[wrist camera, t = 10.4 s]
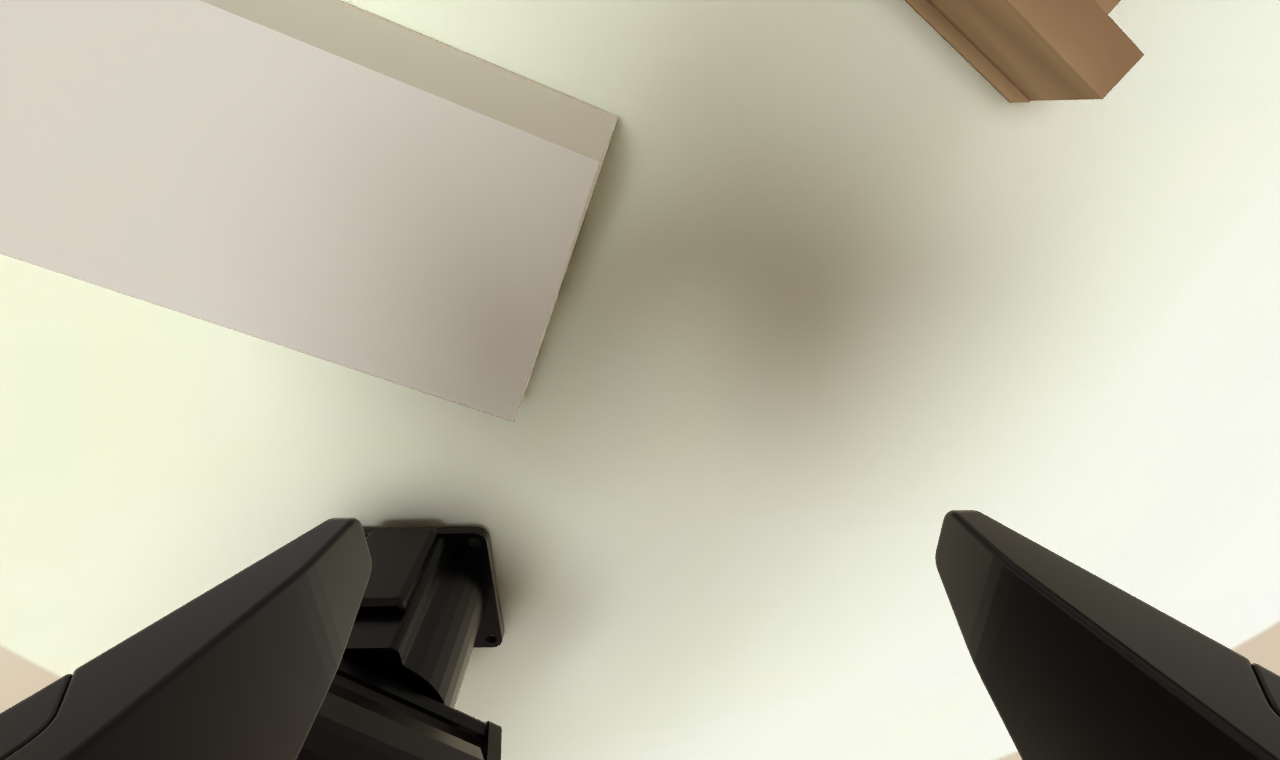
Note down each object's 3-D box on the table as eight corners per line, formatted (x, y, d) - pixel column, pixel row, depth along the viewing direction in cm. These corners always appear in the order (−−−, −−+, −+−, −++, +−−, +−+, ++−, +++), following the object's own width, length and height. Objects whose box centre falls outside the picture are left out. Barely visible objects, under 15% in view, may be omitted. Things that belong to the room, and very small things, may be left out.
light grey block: (543, 344, 25) (621, 110, 19) (514, 421, 21) (598, 161, 15) (-432, 2, 20) (-758, -471, 14) (-692, 26, 16) (-1298, -606, 10)
